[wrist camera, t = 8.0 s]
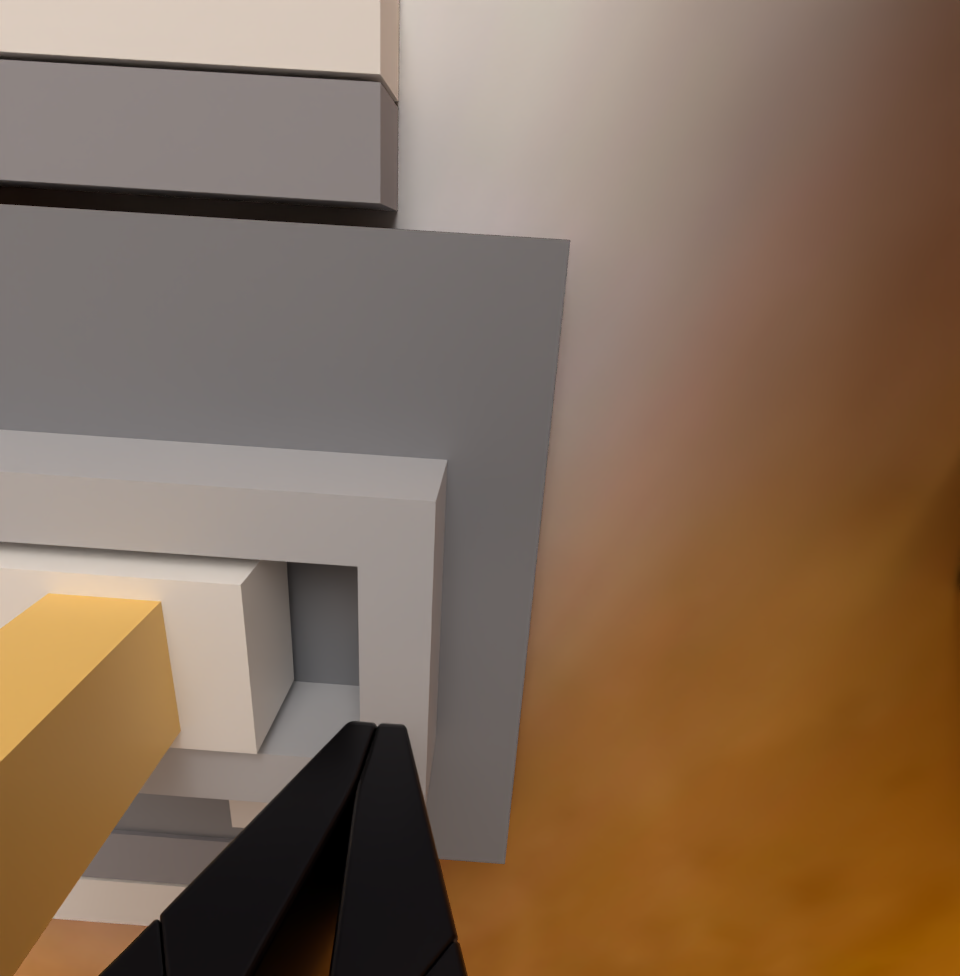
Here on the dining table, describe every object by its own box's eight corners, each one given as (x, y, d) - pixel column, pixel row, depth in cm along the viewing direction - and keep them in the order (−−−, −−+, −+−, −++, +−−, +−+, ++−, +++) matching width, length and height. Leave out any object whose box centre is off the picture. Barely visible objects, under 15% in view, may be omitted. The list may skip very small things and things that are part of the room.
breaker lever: (284, 530, 11) (-6, 889, 5) (294, 679, 12) (73, 1122, 6) (51, 514, 11) (-540, 846, 5) (84, 663, 12) (-355, 1086, 6)
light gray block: (392, 798, 16) (380, 854, 14) (391, 884, 17) (380, 943, 16) (-200, 753, 16) (-273, 804, 15) (-161, 841, 17) (-224, 897, 16)
